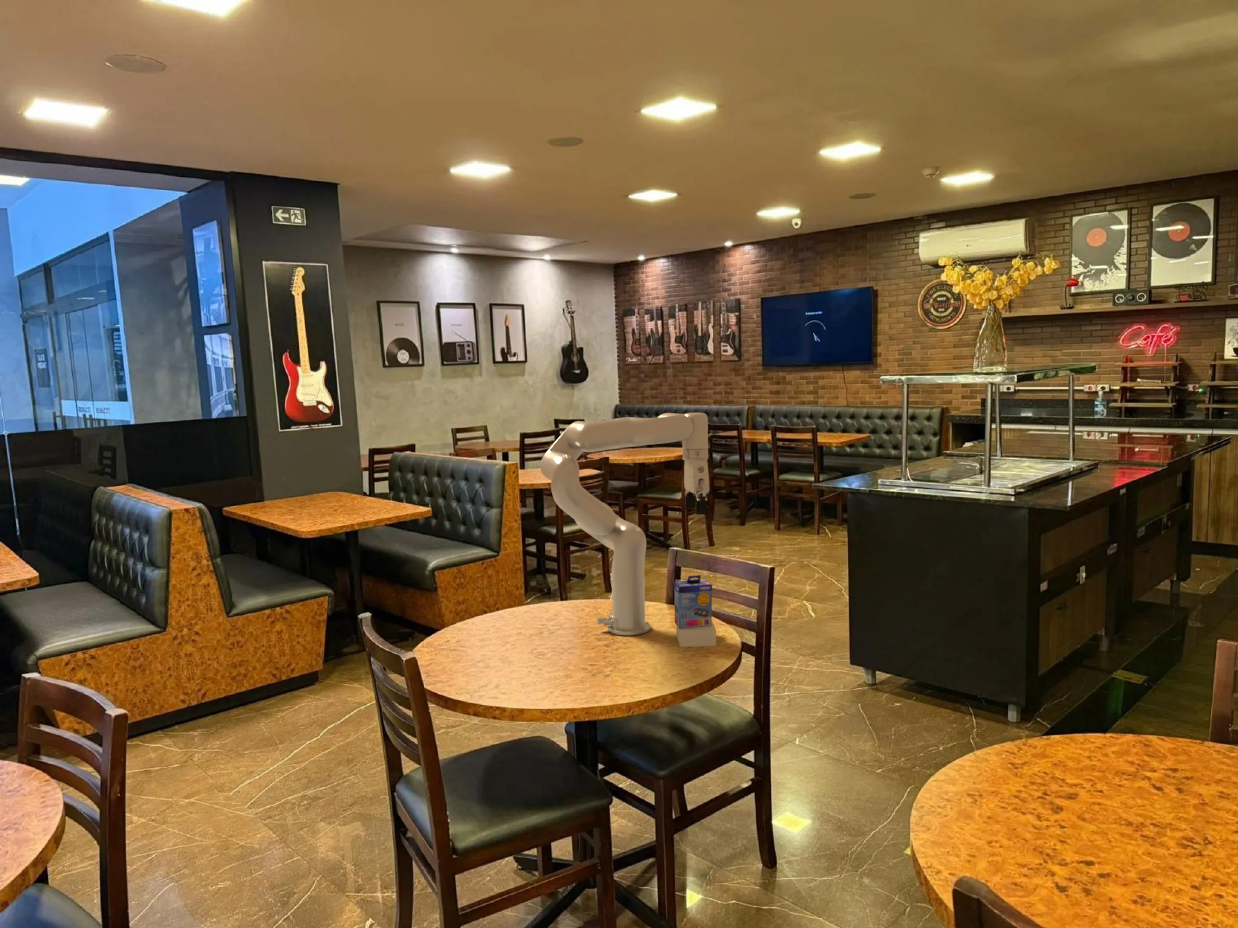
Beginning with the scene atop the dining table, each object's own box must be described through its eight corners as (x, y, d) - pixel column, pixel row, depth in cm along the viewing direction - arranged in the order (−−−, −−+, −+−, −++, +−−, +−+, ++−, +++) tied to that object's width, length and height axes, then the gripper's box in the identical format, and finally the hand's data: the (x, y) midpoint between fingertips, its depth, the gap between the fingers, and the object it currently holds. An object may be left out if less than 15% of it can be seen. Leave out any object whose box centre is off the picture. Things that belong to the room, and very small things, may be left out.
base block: (679, 648, 232) (679, 630, 232) (676, 636, 242) (676, 619, 242) (716, 647, 233) (716, 629, 232) (711, 635, 242) (711, 618, 242)
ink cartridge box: (679, 629, 233) (678, 577, 231) (673, 623, 238) (672, 573, 237) (713, 626, 235) (712, 575, 233) (706, 620, 240) (706, 570, 239)
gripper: (717, 456, 243) (717, 515, 245) (697, 451, 260) (698, 506, 262) (692, 458, 241) (693, 517, 243) (674, 452, 258) (675, 507, 260)
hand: (695, 511), depth 253 cm, fingers open, 9 cm apart
